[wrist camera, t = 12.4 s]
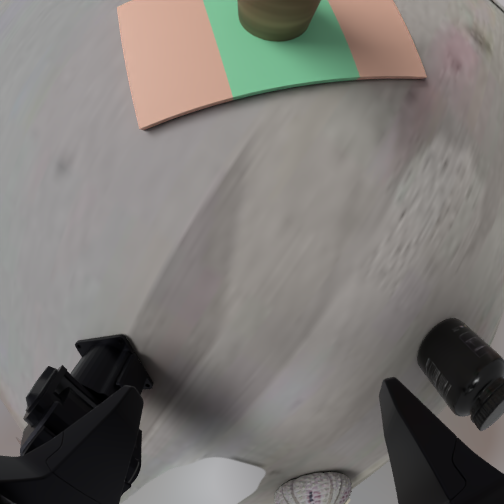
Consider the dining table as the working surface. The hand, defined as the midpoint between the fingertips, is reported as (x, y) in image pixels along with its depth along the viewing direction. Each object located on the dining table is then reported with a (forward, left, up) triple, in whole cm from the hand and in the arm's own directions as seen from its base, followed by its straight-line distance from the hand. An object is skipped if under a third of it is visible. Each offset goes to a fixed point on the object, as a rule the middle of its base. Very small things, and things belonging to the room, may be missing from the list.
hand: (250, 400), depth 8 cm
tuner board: (+7, +18, -12) cm, 23 cm away
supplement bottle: (+18, -14, -12) cm, 26 cm away
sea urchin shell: (0, -41, -12) cm, 43 cm away
